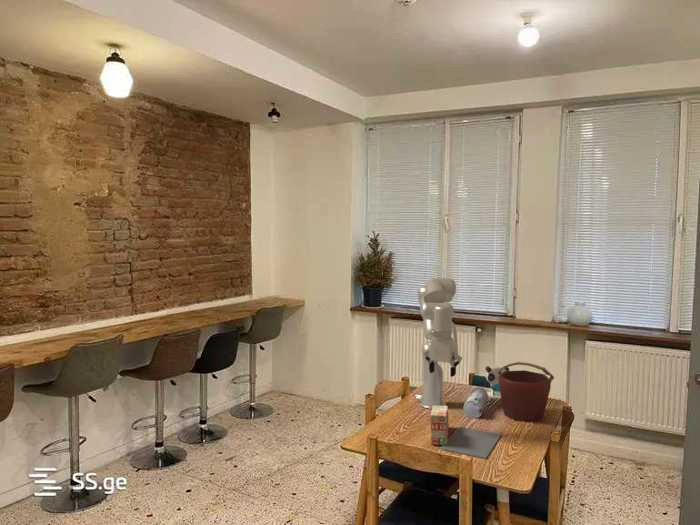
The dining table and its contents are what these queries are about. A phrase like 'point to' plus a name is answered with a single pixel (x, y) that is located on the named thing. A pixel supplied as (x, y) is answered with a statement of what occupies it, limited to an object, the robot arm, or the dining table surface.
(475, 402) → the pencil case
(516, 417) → the bucket
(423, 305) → the robot arm
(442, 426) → the stack of blocks
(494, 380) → the panda figurine
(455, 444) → the rubber mat
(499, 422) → the dining table surface
